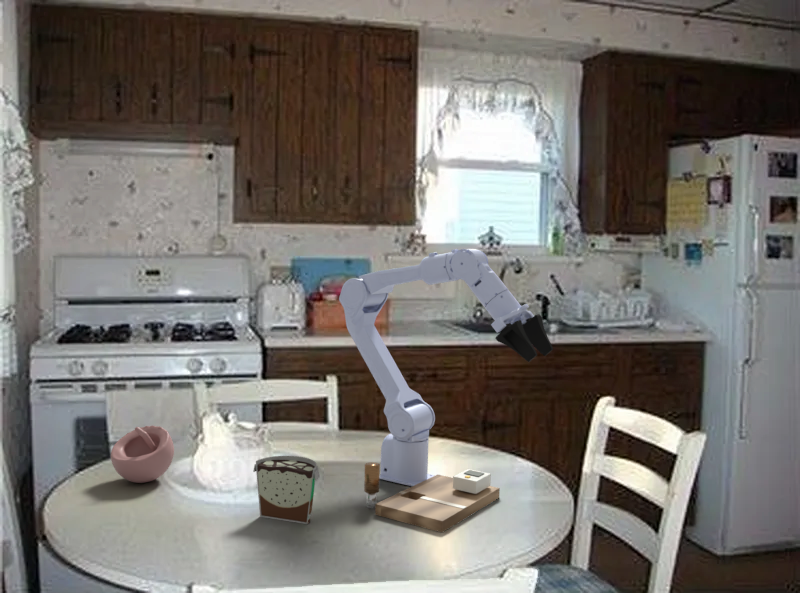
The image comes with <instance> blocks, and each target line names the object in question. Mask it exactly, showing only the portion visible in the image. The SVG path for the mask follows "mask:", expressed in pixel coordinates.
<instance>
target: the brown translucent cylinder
mask: <svg viewBox="0 0 800 593" xmlns="http://www.w3.org/2000/svg"><path fill="white" fill-rule="evenodd" d="M380 474H381V463H378V462H373V461H372V462H366V463H364V479H363V480H364V481H363V482H364V483H363V484H364V485H363V489H364V490H363V492H364V493H366V508H367V509H375V504H376V503H377V494H378V493H379V492H380V480H381V479H380Z"/></svg>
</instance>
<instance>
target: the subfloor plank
mask: <svg viewBox="0 0 800 593" xmlns="http://www.w3.org/2000/svg"><path fill="white" fill-rule="evenodd" d="M498 498H499V499H500V487H496V486H492V485H490V486H489V487H487V488H486V489H484V490H482V491H480V492H479V493H477V494H474V493H470V492H465V491H461V490H456V489H453V477H451V476H446V475H441V474H435V476H433V477H431V478H429V479H427V480H425V481H423V482H421V483H419V484H416V485H414V486H409V487H408V488H405V489H404V490H400V491H399V492H397V493H395V494H393V495H391V496H389V497H387V498H385V499H383V500H381V501H378V502H376V504H375V508H374V509H375V512H374V515H376V516H379V517H382V518H386V519H388V520H389V519H390V520H393V521H397V522H402V523H405V524H409V525H412V526H416V527H420V528H422V529H423V528H424V529H428V530H431V531H434V532H435V531H436V532H439V533H444V532H445V530H446V531H447V530H448V528H449V529H450V528H452V527H454V526H456V525H457V524H459V523H460V522H462V521H464V520H465V519H467V518H469V517H470V516H472V515H474V514H475V513H477V512H479V511H480V510H482V509H483V507H484V508H486V507H487V506H488V504H489V505H490V504H492V503H493V501H494V502H495V501H497V500H499V499H498ZM496 499H497V500H496ZM491 502H492V503H491ZM481 508H482V509H481ZM478 510H479V511H478ZM476 511H477V512H476ZM473 513H474V514H473ZM471 514H472V515H471ZM468 516H469V517H468ZM463 519H464V520H463ZM453 525H454V526H453ZM443 531H444V532H443Z"/></svg>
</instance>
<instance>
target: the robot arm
mask: <svg viewBox="0 0 800 593" xmlns="http://www.w3.org/2000/svg"><path fill="white" fill-rule="evenodd" d="M459 280H462V281H464V283H465V284H466V285H467V286H468V288H469V289H470V291H471V293H473V295H474V296H475V297H476V299H477V300H478V301H479V302H480V304H481V305H482V306H483V307H484V309H485V310H486V312H487V313H488V314H489V315H490V317H491V318H492V319H493V320H494V321H493V322H492V323H491V324H490V326H491V327H492V329H494V331H495V332H496V333H497V335H496V337H495V340H496V341H497V342H498V343H500V344H503V345H505V346H507V347H508V348H510V349H511V350H513V352H515V353H517V354H518V356H520V357H522V358H523V359H524V360H525V361H527V362H528V363H530V362H532V361H533V360H534V358H536V357H537V356H538V353H537V351H538V352H539V353H540V354H541V355H543V356H544V357H547V355H548V354H550V353H551V352H552V351H553V350H554V348H553V344H552V343H551V340H550V338H549V337H548V334H547V332H546V331H545V330H546V329H545V326H544V322H543V321H544V320H543V317H542V315H541V314H540V313H538V314H535V315H534V314H533V312H532V311H531V310H528V309H529V308H530V306H529V304H528V303H525V304H523V305H521V303H519V301H518V300H517V299H516V297H515V296H514V294H513V293H512V292H511V291H510V290H509V288H508V287H507V286H506V285H505V283H504V282H503V281H502V279H501V277H499V276H498V274H496V272H495V271H494V270H493V269H492V268H491V267H490V265H489V259H488V256H487V255H486V253H485V252H484V251H482V250H480V249H476V248H462V249H458V248H454V249H451V250H450V251H449V252H445V253H439V254H438V252H437V251H434V252H430V253H428V256H425V257H424V258H422V259H421V261H420V262H419V264H415V265H409V266H402V267H395V268H390V269H382V270H376V271H374V272H370V273H366V274H362V275H359V276H358V278H354V277H353V278H349V279H347V280H346V281H345V282H344V283H343V285H342V288H341V290H340V293H339V294H340V295H339V298H338V301H339V303H340V304H341V306H342V308H343V312H344V318H345V325H346V328H347V331H348V333H349V335H350V337H351V339H352V340H353V342H354V344H355V346H356V348H357V349H358V351H359V353H360V356H361V357H362V359H363V361H364V362H365V364H366V366H367V368H368V369H369V372H370V373H371V375H372V377H373V378H374V380H375V383H376V384H377V386H378V388H379V389H380V391H381V393H382V395H383V397H384V399H385V404H384V408H383V413H384V415H385V417H386V421H387V427H388V428H387V429H388V430H389V432H390V433H388V434H387V435H386V436H385V437H384V439H383V441H382V444H381V447H380V480H384V481H388V482H391V483H392V482H393V483H396V484H400V485H405V486H408V487H412V486H414V485H416V484H419V483H421V482H423V481H425V480H427V479H429V478H431V477H433V476H435V475H436V474H435V475H434V474H429V473H428V470H429V469H428V467H429V465H428V464H429V436H430V430H431V429H432V427H433V426H434V425H435V423H436V422H435V421H436V415H435V412H434V409H433V408H432V406H431V405H430V404H428V403H427V402H425V401H424V400H423V398H422V396H421V394H419V392H417V391H415V390H413V389H411V388H410V387H409V385H408V383H407V381H406V379H405V378H404V376H403V375H402V372H401V370H400V369H399V367H398V365H397V363H396V362H395V360H394V358H393V356H392V355H391V353H390V351H389V349H388V348H387V345H386V344H385V342H384V340H383V338H382V336H381V335H380V333H379V331H378V330H377V327H376V326H375V322H376V319H377V317H378V315H379V314H380V311H381V310H382V309H383V307H384V305H385V303H386V301H388V298H389V293H393V291H394V288H395V286H397V285H398V286H399V285H402V284H404V285H405V284H408V283H413V282H418V281H423V282H424V283H425V284H426V285H429V286H430V285H437V284H438V285H439V284H443V283H451V282H455V281H459ZM498 333H499V334H498ZM536 350H537V351H536Z"/></svg>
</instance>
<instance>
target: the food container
mask: <svg viewBox="0 0 800 593" xmlns="http://www.w3.org/2000/svg"><path fill="white" fill-rule="evenodd" d="M255 472H256V481H257V482H256V483H257V495H258V508H259V517H260V518H266V519H273V520H278V521H279V520H280V521H285V522H291V523H296V524H297V523H298V524H304V525H308V524H310V523H311V519H312V513H313V512H312V511H313V502H314V496H315V495H314V494H315V485H316V481H318V480H319V478H320V471H319V467H318V465H317V463H316V461H315V460H314V459H310V458H308V457H305V456H298V455H276V456H274V455H273V456H268V457H264V458H259V459H258V460H256V461H255V464H254V466H253V473H255Z"/></svg>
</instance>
